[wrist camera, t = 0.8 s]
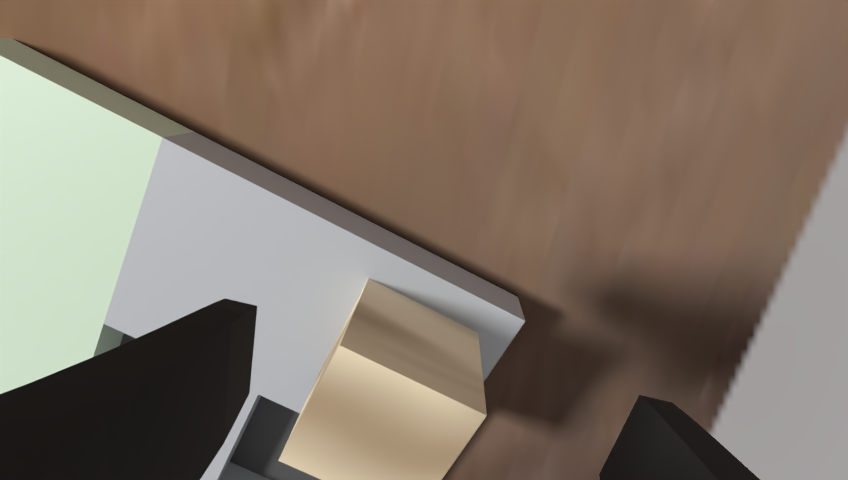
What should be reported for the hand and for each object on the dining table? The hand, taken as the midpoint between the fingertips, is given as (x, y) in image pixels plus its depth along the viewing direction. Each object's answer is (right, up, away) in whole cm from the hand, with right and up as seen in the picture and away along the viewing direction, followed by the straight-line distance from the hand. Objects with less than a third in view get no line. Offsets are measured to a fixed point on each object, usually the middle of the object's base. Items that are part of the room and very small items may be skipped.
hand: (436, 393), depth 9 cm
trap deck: (-9, -1, +11) cm, 15 cm away
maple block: (-1, -1, +9) cm, 9 cm away
